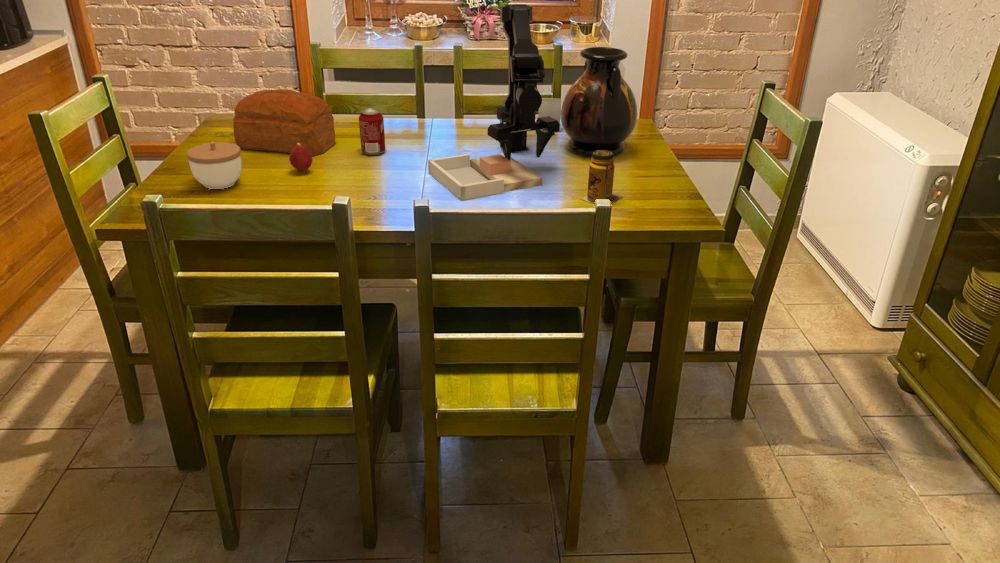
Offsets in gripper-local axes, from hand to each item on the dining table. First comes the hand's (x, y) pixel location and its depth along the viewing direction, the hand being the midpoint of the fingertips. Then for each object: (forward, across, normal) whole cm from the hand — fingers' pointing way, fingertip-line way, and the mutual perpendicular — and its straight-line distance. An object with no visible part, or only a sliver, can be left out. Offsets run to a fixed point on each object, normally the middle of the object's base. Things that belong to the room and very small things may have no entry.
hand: (523, 159), depth 195 cm
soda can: (+4, +30, -32) cm, 45 cm away
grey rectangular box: (+4, -26, -29) cm, 39 cm away
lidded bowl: (+4, +74, -26) cm, 78 cm away
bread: (+4, +51, -49) cm, 71 cm away
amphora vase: (+4, -28, -7) cm, 29 cm away
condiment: (+4, -9, +24) cm, 26 cm away
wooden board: (+4, +5, 0) cm, 6 cm away
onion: (+4, +53, -26) cm, 59 cm away
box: (+4, +17, 0) cm, 17 cm away
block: (+2, +8, 0) cm, 9 cm away
